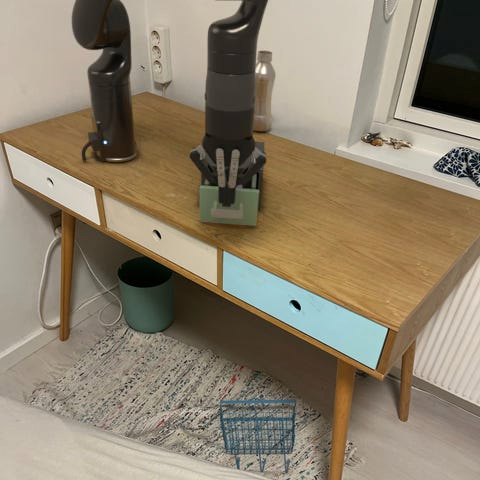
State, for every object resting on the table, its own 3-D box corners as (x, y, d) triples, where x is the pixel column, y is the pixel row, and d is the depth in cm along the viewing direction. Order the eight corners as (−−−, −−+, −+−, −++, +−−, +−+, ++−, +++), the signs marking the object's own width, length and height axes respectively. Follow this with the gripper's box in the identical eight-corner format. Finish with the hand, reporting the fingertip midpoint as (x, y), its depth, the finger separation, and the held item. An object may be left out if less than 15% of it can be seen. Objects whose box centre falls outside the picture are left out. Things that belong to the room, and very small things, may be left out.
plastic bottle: (269, 135, 140) (276, 56, 127) (245, 132, 141) (250, 53, 128) (272, 127, 145) (279, 50, 132) (249, 124, 146) (254, 48, 133)
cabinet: (259, 210, 108) (263, 169, 102) (201, 205, 108) (201, 165, 102) (261, 180, 119) (264, 142, 113) (208, 176, 119) (208, 137, 113)
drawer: (255, 239, 97) (258, 204, 92) (196, 234, 97) (196, 200, 92) (258, 194, 111) (260, 163, 106) (206, 191, 111) (206, 159, 106)
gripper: (274, 96, 79) (265, 197, 90) (189, 90, 79) (191, 192, 90) (274, 112, 73) (264, 218, 84) (183, 105, 73) (185, 212, 84)
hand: (226, 204), depth 87 cm, fingers closed
